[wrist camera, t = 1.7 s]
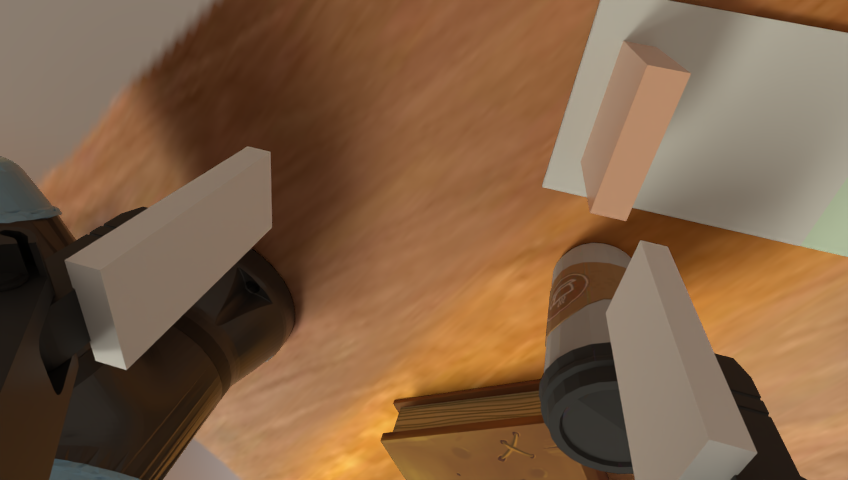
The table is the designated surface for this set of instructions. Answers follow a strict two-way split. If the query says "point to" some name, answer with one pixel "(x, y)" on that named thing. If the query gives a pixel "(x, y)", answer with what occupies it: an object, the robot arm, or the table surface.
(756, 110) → the mat
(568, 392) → the coffee cup
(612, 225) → the table surface
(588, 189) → the tile
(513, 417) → the diary
